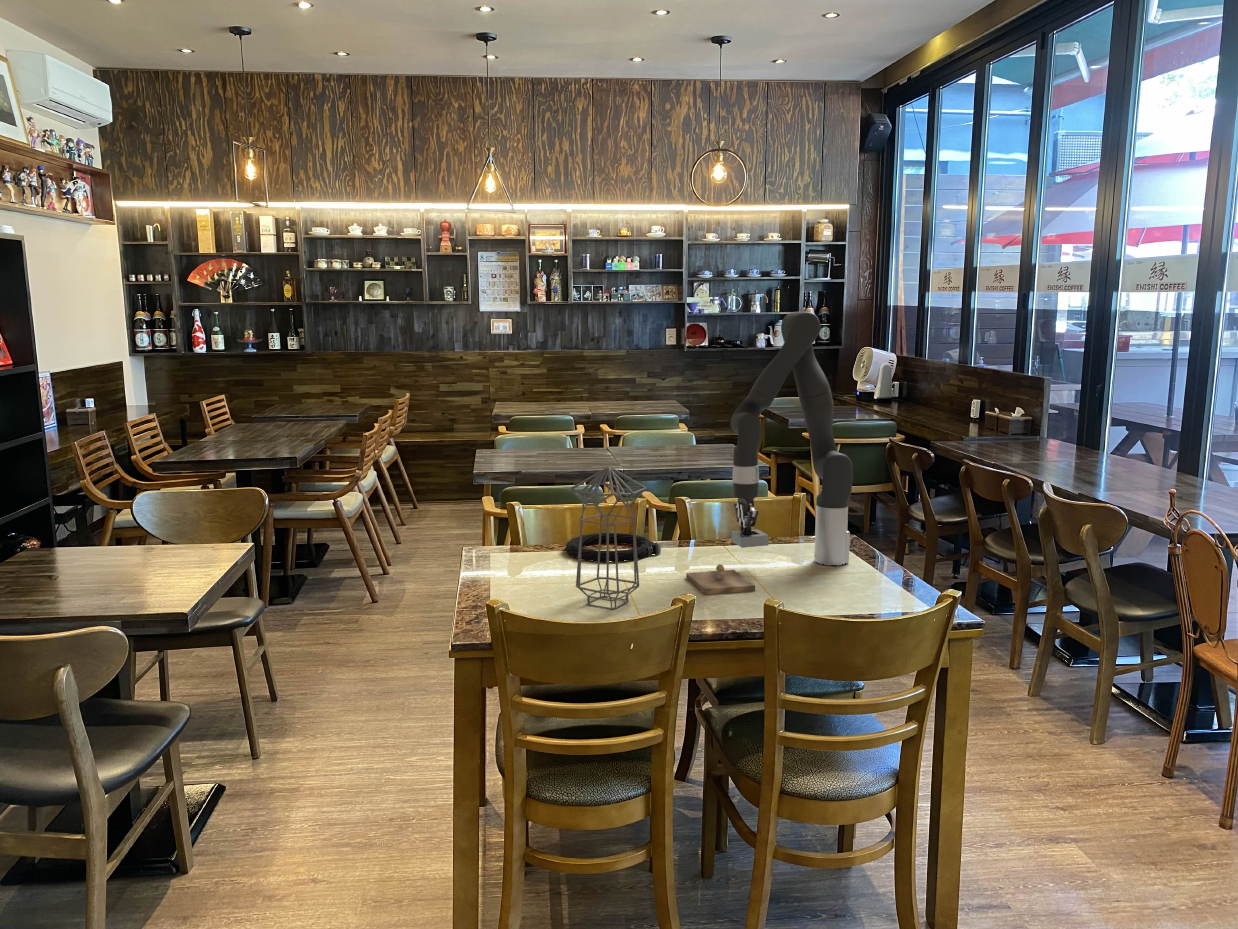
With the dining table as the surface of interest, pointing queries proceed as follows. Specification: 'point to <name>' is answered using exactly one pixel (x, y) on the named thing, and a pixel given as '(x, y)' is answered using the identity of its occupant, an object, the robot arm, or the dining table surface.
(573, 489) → the geometric lantern
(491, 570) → the dining table surface
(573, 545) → the black studded ring
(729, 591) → the keeper block
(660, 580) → the dining table surface
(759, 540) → the grey square frame
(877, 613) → the dining table surface
